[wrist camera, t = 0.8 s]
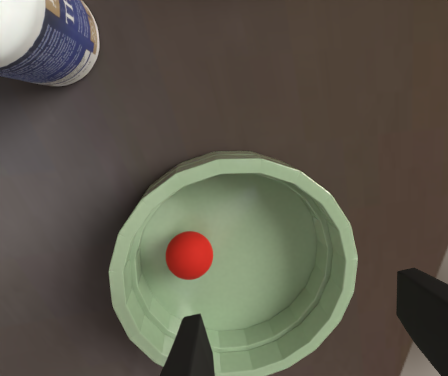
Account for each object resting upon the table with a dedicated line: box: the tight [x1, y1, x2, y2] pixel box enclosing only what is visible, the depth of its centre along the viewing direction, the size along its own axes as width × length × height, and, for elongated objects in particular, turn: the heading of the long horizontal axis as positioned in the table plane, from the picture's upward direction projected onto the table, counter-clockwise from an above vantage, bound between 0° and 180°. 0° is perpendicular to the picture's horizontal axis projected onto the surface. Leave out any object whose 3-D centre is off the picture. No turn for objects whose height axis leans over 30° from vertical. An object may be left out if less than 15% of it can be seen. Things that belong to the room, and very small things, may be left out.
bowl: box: [109, 151, 358, 376], centre depth 19 cm, size 15×15×4 cm
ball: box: [165, 231, 213, 280], centre depth 18 cm, size 3×3×3 cm
